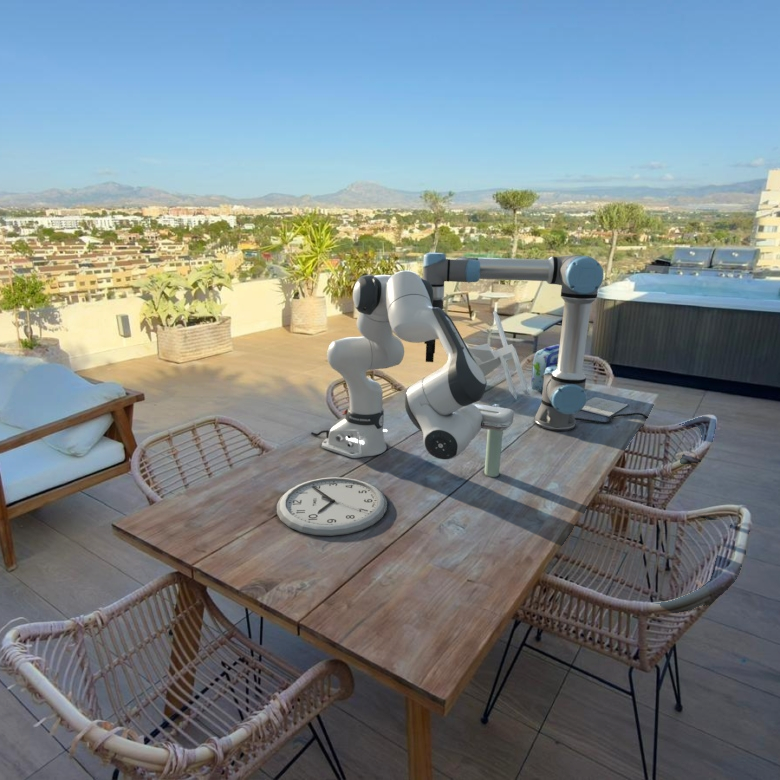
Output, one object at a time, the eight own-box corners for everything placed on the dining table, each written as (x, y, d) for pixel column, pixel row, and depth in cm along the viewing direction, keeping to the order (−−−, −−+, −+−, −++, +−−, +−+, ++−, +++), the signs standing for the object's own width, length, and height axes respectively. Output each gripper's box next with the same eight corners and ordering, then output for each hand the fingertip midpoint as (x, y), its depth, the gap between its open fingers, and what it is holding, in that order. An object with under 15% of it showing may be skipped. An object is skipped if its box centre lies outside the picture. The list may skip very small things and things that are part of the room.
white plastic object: (461, 429, 252) (437, 405, 227) (444, 352, 274) (420, 323, 250) (535, 404, 240) (518, 377, 215) (510, 326, 262) (492, 293, 237)
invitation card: (608, 416, 214) (573, 407, 224) (608, 416, 214) (573, 408, 224) (628, 404, 229) (594, 396, 238) (628, 405, 229) (594, 397, 238)
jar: (484, 476, 161) (489, 416, 155) (484, 470, 165) (488, 411, 159) (499, 477, 161) (504, 417, 155) (498, 471, 165) (503, 412, 159)
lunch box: (547, 397, 237) (552, 352, 231) (526, 391, 245) (531, 348, 238) (574, 386, 255) (580, 344, 249) (554, 381, 262) (559, 340, 256)
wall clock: (392, 527, 129) (268, 531, 127) (391, 533, 130) (269, 537, 127) (383, 473, 158) (282, 475, 155) (383, 478, 158) (282, 480, 156)
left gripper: (508, 415, 117) (520, 398, 129) (422, 402, 125) (441, 387, 137) (506, 441, 119) (518, 422, 131) (421, 426, 127) (440, 409, 139)
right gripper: (424, 293, 195) (422, 349, 202) (419, 302, 172) (417, 365, 178) (444, 294, 195) (441, 350, 201) (442, 303, 171) (439, 366, 177)
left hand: (478, 404), depth 134 cm, fingers open, 8 cm apart
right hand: (430, 357), depth 190 cm, fingers open, 13 cm apart
